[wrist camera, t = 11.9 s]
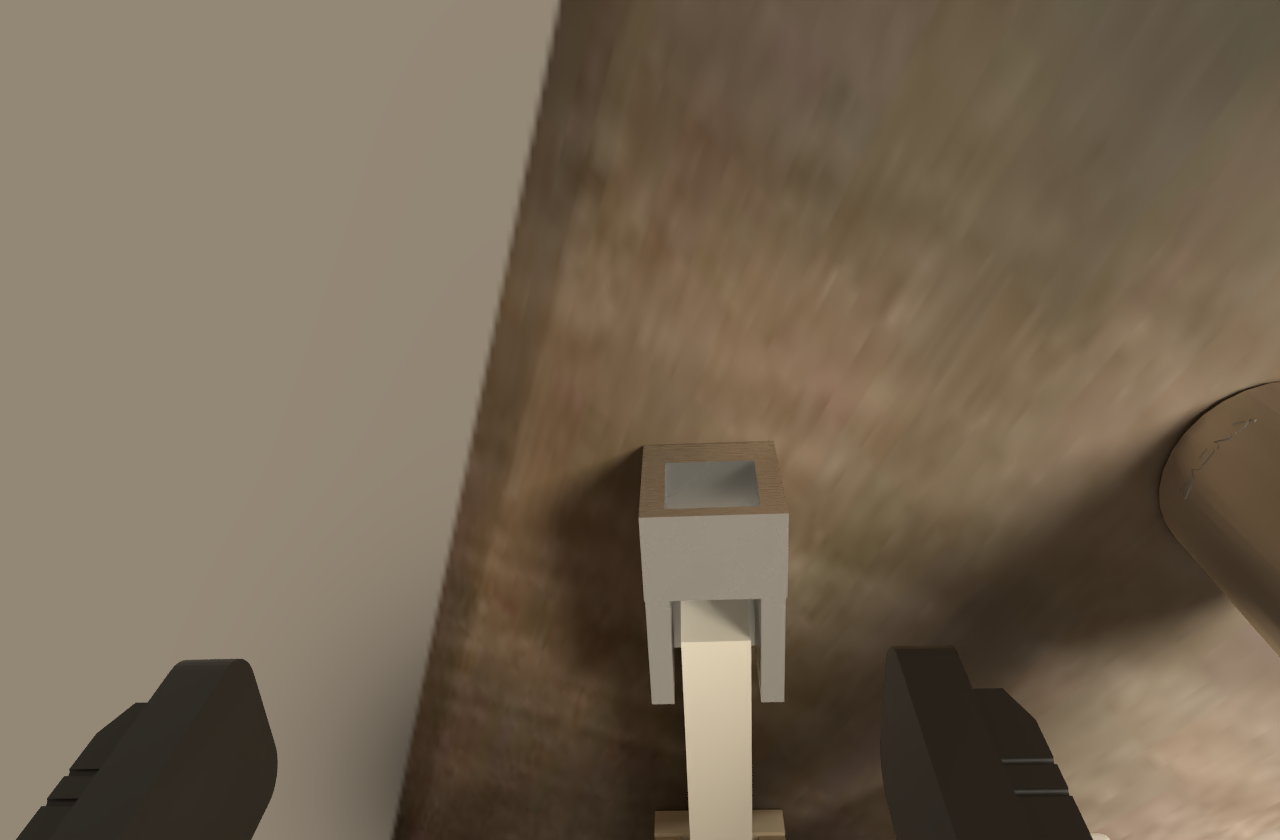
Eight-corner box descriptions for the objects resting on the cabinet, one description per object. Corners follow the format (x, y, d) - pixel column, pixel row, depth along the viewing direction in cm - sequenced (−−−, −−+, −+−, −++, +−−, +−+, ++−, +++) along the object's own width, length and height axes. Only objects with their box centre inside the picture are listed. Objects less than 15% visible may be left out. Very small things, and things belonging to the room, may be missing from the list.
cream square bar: (680, 599, 43) (680, 642, 40) (746, 598, 43) (751, 640, 40) (692, 870, 51) (694, 921, 48) (748, 870, 50) (752, 921, 48)
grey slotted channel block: (643, 445, 42) (638, 517, 36) (773, 441, 41) (788, 513, 36) (654, 625, 46) (651, 714, 41) (772, 622, 46) (785, 711, 40)
